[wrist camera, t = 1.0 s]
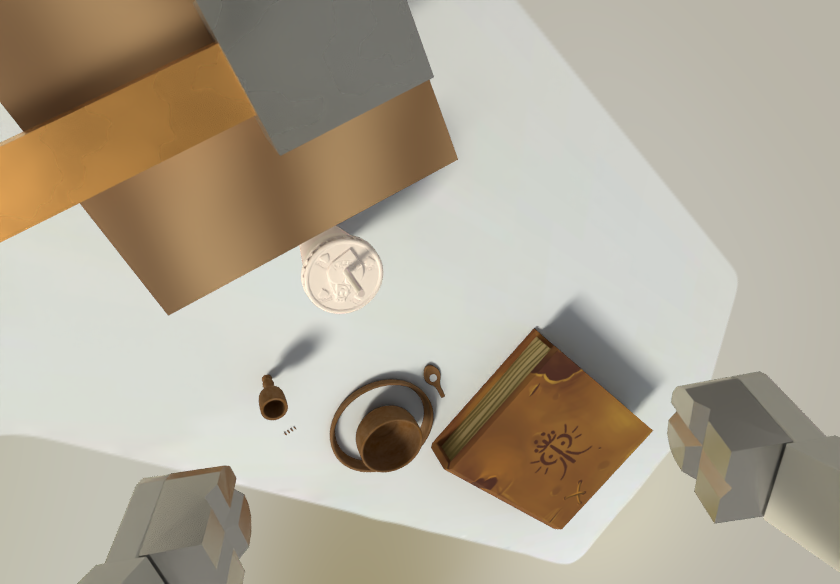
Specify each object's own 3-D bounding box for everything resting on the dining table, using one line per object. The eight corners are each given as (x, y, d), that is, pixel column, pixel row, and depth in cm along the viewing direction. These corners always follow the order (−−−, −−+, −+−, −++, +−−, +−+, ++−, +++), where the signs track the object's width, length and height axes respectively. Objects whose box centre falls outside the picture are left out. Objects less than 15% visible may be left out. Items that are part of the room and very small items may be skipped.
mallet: (-147, 346, 20) (-205, 404, 17) (-294, 226, 17) (-393, 269, 14) (400, 70, 23) (434, 77, 20) (347, -68, 20) (376, -84, 17)
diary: (427, 442, 68) (446, 474, 63) (530, 325, 66) (558, 349, 62) (535, 504, 80) (558, 535, 75) (624, 406, 78) (654, 431, 74)
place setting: (333, 493, 66) (346, 531, 61) (240, 375, 55) (246, 410, 50) (460, 413, 68) (482, 444, 63) (394, 285, 57) (414, 310, 52)
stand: (172, 173, 45) (168, 315, 23) (50, -11, 38) (-126, -59, 16) (327, 96, 47) (458, 159, 25) (239, -94, 40) (314, -240, 18)
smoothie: (357, 208, 52) (410, 262, 40) (346, 272, 54) (393, 341, 42) (287, 199, 49) (322, 255, 37) (279, 268, 51) (309, 340, 40)
